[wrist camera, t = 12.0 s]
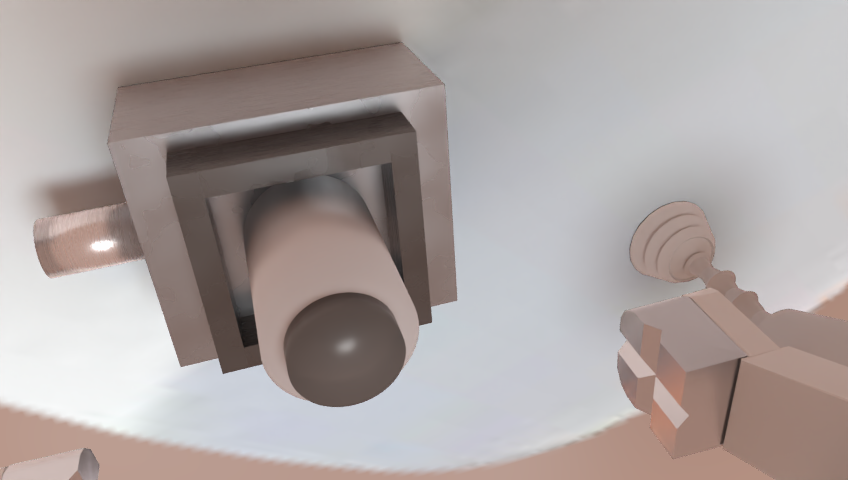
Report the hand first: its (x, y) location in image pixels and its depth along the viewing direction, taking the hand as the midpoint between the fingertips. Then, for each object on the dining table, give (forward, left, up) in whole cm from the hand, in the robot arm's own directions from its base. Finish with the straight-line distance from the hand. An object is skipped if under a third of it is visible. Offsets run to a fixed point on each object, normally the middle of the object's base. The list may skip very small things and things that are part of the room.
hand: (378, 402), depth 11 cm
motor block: (+2, +7, -23) cm, 24 cm away
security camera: (-1, +7, -17) cm, 18 cm away
